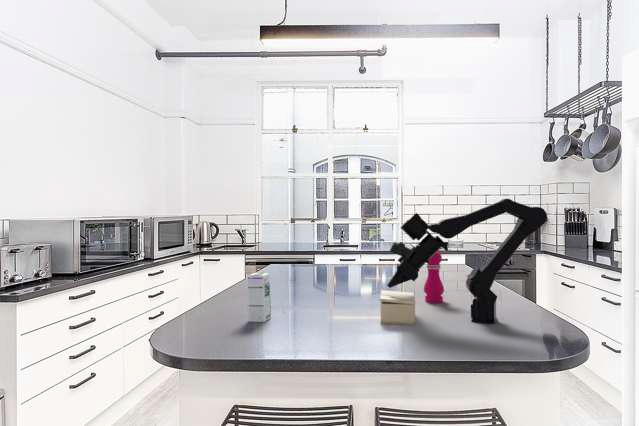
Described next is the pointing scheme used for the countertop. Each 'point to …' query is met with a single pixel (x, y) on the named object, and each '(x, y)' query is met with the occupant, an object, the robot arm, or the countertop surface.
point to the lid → (397, 297)
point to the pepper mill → (434, 280)
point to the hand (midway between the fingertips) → (388, 286)
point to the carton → (397, 313)
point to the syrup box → (258, 297)
